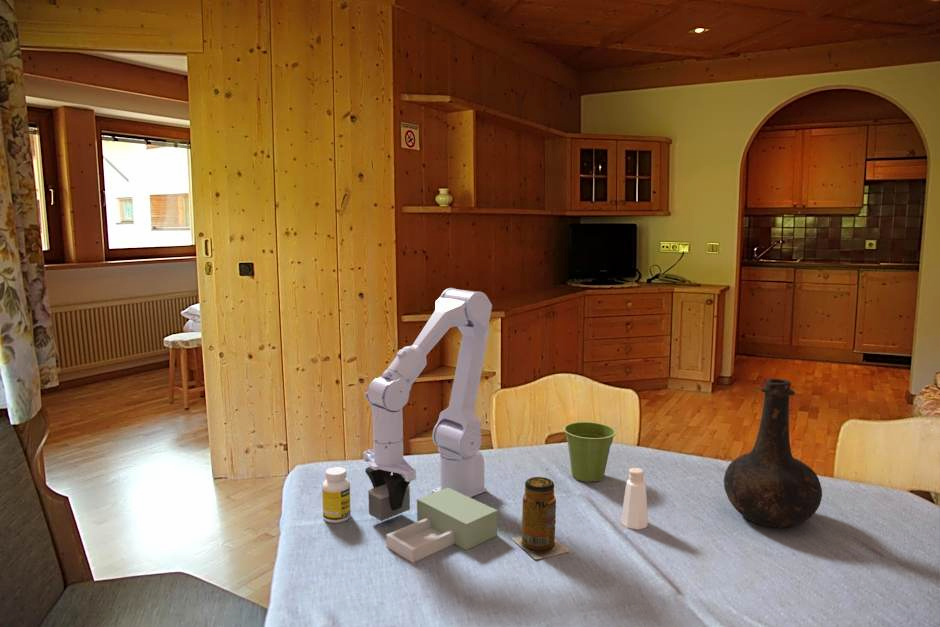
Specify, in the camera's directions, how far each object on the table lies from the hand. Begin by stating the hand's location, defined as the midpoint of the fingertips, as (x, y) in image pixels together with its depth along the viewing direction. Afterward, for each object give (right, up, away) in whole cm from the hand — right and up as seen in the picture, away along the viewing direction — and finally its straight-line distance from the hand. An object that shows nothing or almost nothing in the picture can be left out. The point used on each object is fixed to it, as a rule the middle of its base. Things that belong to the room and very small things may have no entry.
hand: (389, 504), depth 131 cm
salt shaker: (+48, -4, -1) cm, 48 cm away
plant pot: (+43, 0, +22) cm, 48 cm away
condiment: (+29, -5, -9) cm, 31 cm away
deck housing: (+10, -4, -7) cm, 13 cm away
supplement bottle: (-11, -3, +1) cm, 11 cm away
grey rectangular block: (0, -1, 0) cm, 2 cm away
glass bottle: (+76, -3, +2) cm, 76 cm away
